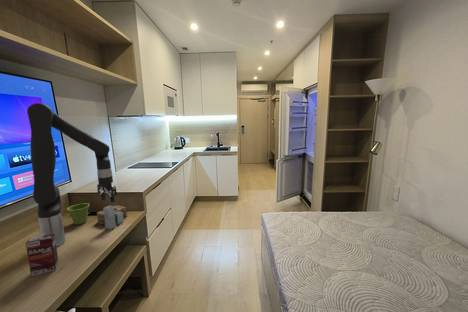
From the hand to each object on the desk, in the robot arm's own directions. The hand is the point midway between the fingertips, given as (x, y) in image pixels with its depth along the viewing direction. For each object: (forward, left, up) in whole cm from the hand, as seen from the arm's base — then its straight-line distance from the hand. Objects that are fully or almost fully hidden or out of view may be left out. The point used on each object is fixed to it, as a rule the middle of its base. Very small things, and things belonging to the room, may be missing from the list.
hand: (108, 201), depth 125 cm
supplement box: (-37, -9, -18) cm, 42 cm away
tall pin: (0, 0, -18) cm, 18 cm away
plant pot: (-3, +26, -18) cm, 32 cm away
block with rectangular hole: (+8, +10, -18) cm, 22 cm away
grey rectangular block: (+7, +2, -18) cm, 19 cm away
